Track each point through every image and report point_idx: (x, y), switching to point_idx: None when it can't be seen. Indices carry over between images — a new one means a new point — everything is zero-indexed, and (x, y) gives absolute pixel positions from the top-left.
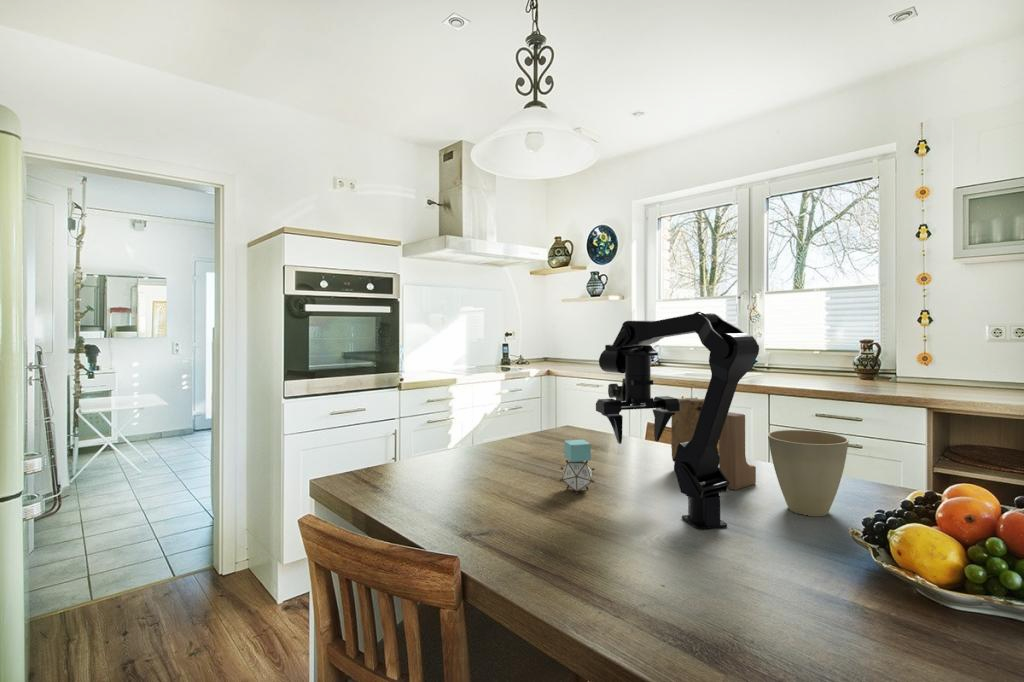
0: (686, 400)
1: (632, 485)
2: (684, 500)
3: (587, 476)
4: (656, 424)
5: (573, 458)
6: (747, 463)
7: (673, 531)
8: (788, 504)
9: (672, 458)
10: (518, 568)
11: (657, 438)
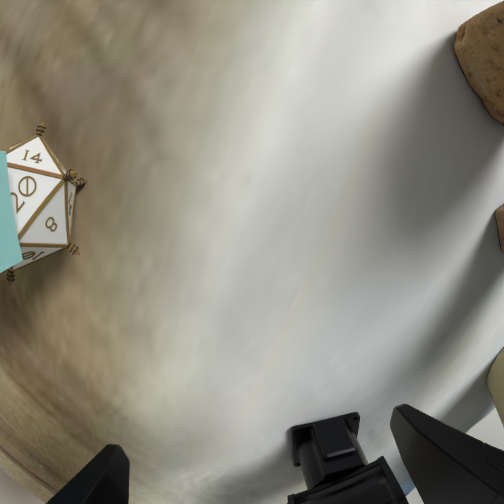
0: None
1: (264, 145)
2: (367, 319)
3: (46, 251)
4: (454, 491)
5: None
6: None
7: (244, 465)
8: (494, 373)
9: (467, 27)
10: (33, 479)
11: (397, 444)
